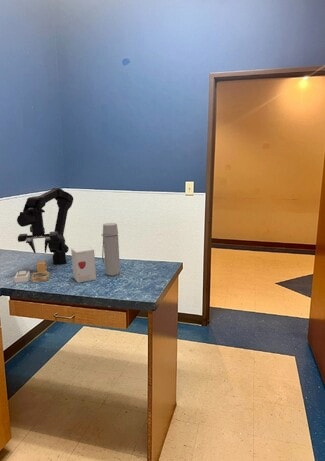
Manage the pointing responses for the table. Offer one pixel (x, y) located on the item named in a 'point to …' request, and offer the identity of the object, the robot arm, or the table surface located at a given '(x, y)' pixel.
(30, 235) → the robot arm
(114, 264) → the water bottle
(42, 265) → the orange block
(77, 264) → the supplement box
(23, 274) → the block
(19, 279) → the clip
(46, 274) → the holder
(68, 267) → the table surface
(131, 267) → the table surface
